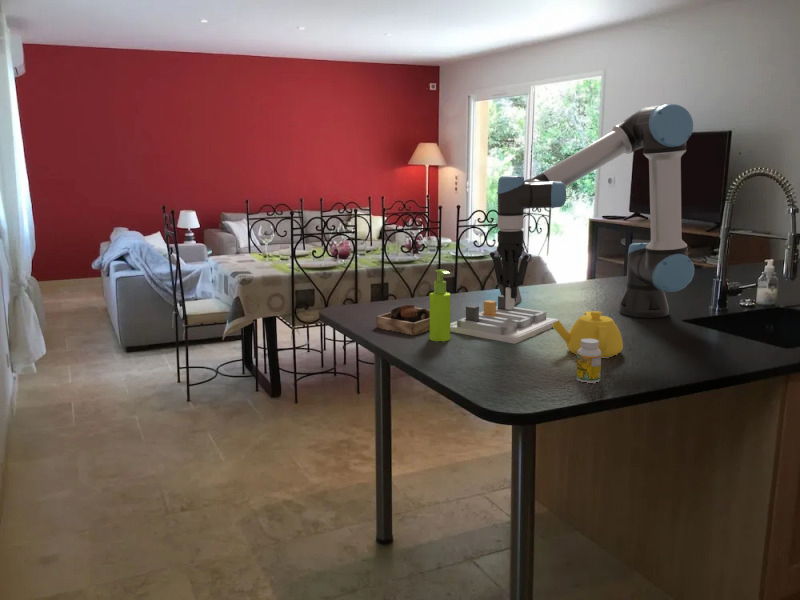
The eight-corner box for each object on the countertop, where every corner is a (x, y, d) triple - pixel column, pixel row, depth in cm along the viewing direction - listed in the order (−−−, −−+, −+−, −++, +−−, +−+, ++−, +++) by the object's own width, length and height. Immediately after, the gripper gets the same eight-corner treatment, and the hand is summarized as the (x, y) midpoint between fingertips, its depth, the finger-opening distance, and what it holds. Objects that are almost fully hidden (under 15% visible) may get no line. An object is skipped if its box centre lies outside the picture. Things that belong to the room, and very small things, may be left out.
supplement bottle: (604, 382, 159) (607, 342, 157) (586, 385, 157) (588, 344, 155) (589, 375, 164) (591, 336, 162) (571, 378, 162) (573, 339, 160)
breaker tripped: (496, 319, 212) (496, 301, 210) (491, 321, 209) (491, 302, 208) (488, 318, 213) (488, 299, 212) (482, 320, 211) (483, 301, 210)
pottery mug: (392, 335, 204) (386, 308, 206) (396, 340, 213) (390, 315, 215) (432, 324, 203) (425, 298, 205) (434, 330, 212) (427, 305, 214)
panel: (559, 324, 212) (559, 313, 211) (514, 343, 191) (514, 331, 190) (492, 313, 226) (492, 302, 226) (444, 330, 206) (444, 318, 205)
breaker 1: (479, 325, 205) (479, 306, 204) (473, 327, 203) (473, 308, 202) (470, 323, 207) (470, 304, 206) (465, 325, 205) (465, 306, 203)
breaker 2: (510, 314, 219) (510, 296, 217) (505, 315, 216) (505, 297, 215) (502, 312, 220) (502, 294, 219) (497, 314, 218) (497, 296, 217)
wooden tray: (448, 323, 214) (448, 312, 213) (414, 335, 201) (414, 323, 200) (410, 317, 223) (409, 306, 222) (375, 327, 210) (375, 316, 209)
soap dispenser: (438, 343, 192) (438, 272, 188) (425, 337, 198) (425, 269, 194) (456, 340, 195) (456, 270, 191) (443, 335, 201) (443, 267, 197)
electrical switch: (513, 306, 236) (511, 280, 234) (498, 306, 238) (497, 280, 237) (522, 301, 244) (520, 275, 242) (508, 301, 246) (506, 275, 245)
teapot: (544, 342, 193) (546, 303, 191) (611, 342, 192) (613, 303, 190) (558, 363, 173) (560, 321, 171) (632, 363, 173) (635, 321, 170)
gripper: (536, 229, 200) (535, 308, 205) (498, 227, 208) (497, 303, 213) (523, 232, 194) (523, 313, 200) (484, 229, 203) (484, 308, 208)
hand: (510, 308), depth 206 cm, fingers closed
